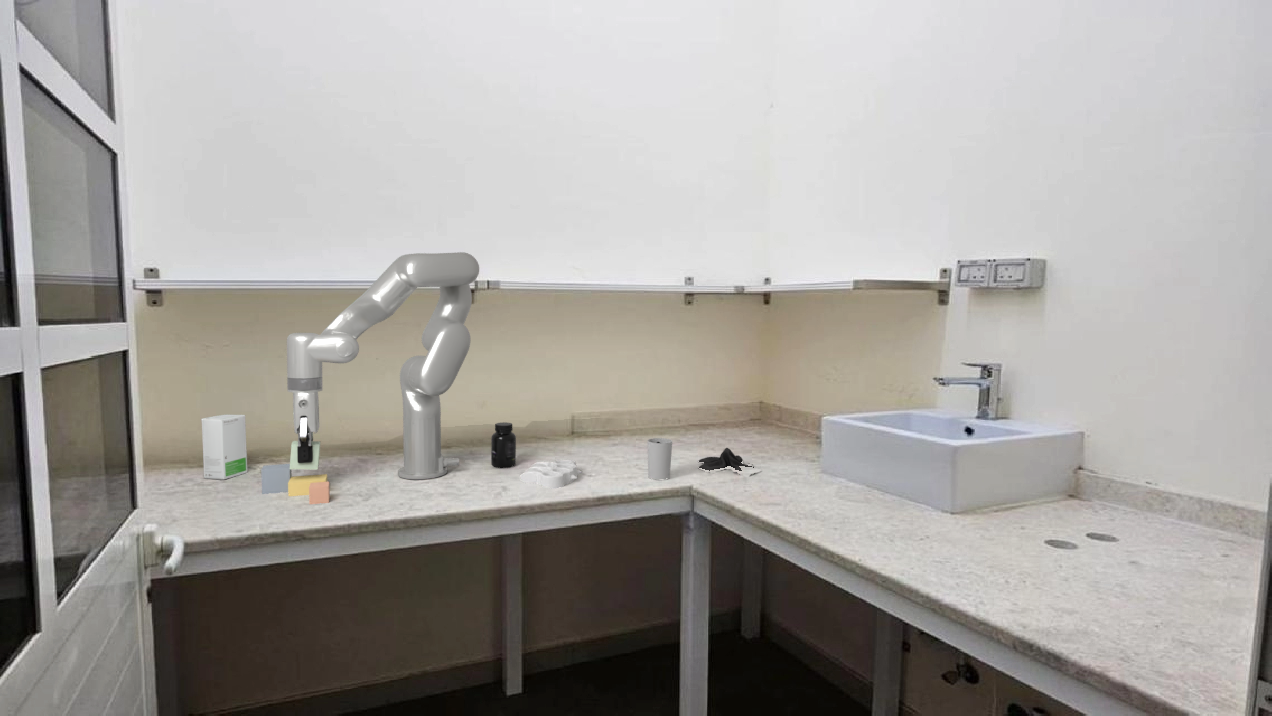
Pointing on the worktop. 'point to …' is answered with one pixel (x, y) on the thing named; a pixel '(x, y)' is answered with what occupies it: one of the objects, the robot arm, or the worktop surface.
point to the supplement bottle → (503, 446)
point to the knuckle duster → (551, 473)
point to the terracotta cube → (319, 492)
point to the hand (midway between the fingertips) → (306, 459)
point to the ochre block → (303, 484)
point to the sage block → (306, 466)
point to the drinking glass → (659, 458)
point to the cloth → (723, 461)
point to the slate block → (275, 478)
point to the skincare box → (224, 446)
